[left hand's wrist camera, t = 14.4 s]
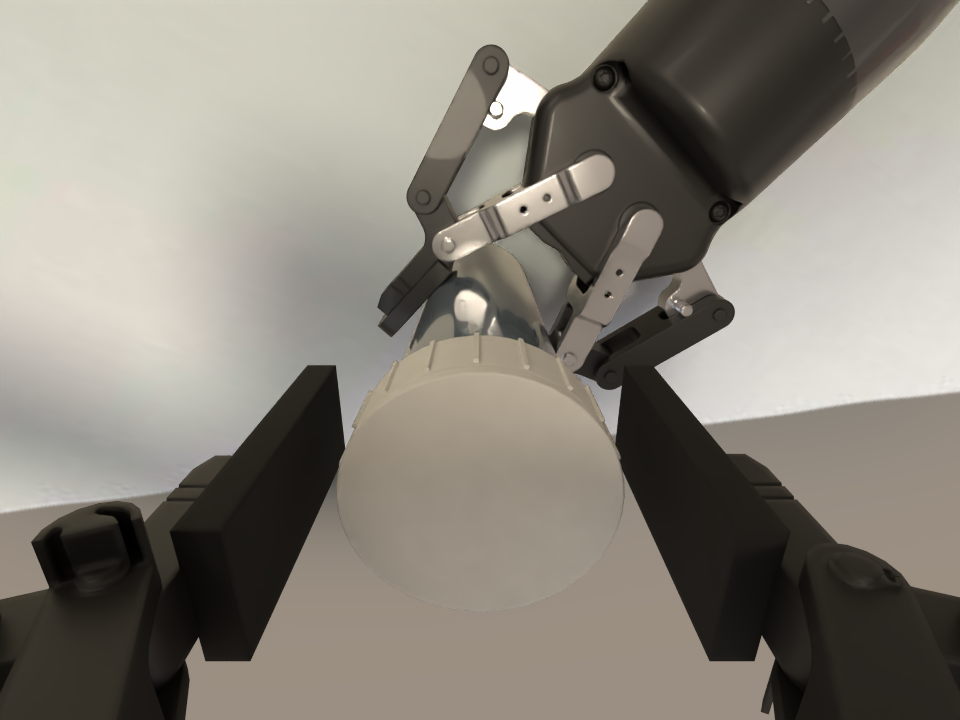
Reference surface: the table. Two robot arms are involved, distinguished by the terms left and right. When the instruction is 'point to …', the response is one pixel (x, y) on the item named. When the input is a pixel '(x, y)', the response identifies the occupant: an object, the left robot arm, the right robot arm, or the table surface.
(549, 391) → the lid
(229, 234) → the table surface
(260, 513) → the left robot arm
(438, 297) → the bottle
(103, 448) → the table surface
